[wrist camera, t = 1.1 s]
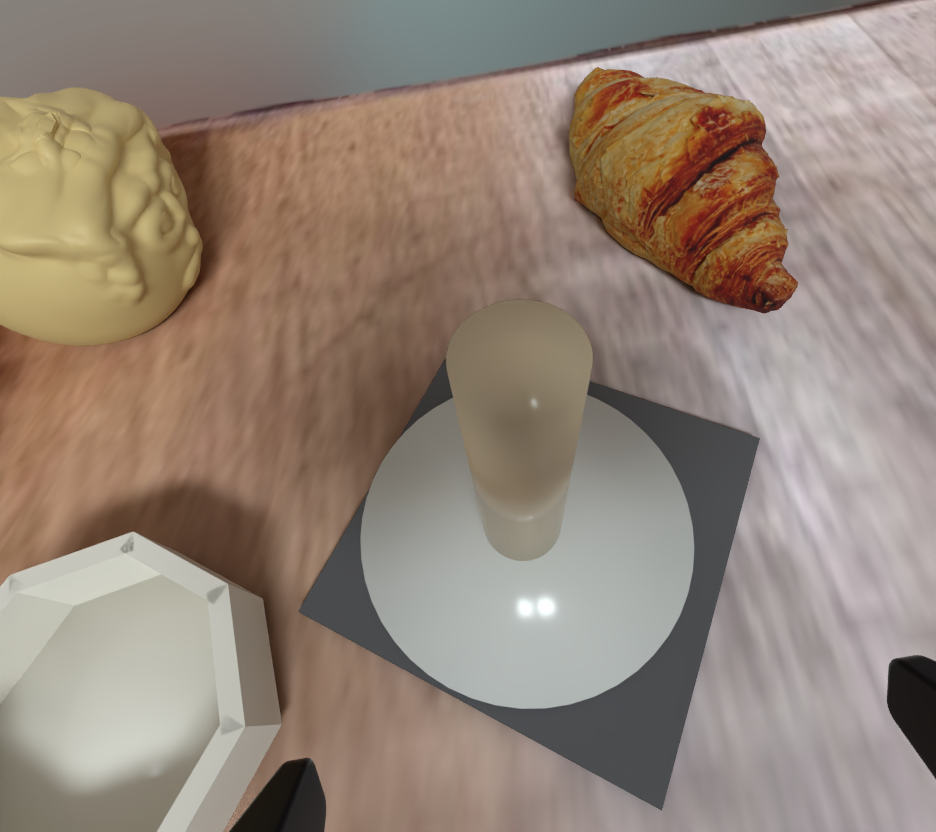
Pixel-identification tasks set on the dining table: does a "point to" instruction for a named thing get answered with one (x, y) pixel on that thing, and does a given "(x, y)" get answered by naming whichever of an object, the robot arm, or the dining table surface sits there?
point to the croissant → (683, 184)
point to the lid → (526, 523)
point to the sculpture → (89, 220)
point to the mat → (664, 675)
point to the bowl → (130, 692)
